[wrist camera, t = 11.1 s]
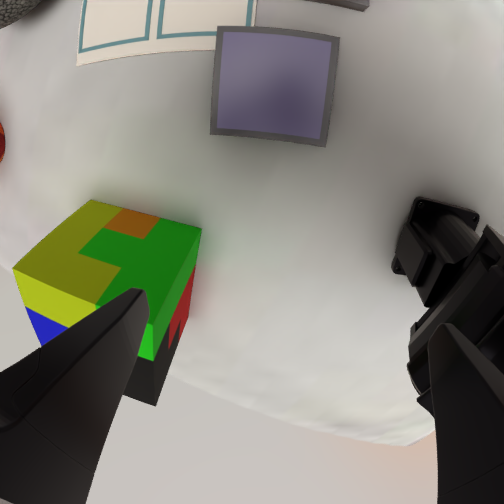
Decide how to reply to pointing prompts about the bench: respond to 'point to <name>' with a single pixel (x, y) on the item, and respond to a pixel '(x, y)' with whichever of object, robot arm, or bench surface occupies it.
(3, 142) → the paper cup
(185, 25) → the print card
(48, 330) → the puzzle toy
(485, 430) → the robot arm
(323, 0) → the stamp
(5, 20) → the decorative ball
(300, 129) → the ink pad
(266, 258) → the bench surface
